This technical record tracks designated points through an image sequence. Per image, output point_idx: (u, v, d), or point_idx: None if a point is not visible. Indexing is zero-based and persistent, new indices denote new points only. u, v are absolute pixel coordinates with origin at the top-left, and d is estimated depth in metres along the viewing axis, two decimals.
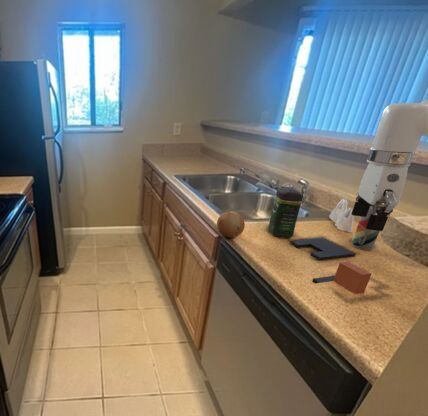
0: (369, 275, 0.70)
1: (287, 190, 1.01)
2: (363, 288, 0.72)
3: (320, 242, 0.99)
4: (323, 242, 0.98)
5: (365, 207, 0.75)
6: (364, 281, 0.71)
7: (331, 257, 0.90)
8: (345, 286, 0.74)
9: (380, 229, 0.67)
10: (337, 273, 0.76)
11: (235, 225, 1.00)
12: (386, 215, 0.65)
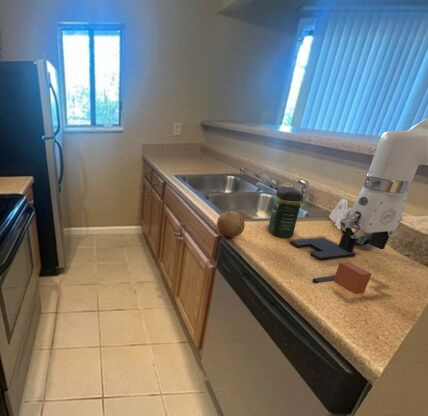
0: (369, 275, 0.70)
1: (287, 190, 1.01)
2: (363, 288, 0.72)
3: (320, 242, 0.99)
4: (323, 242, 0.98)
5: (381, 238, 0.70)
6: (364, 281, 0.71)
7: (331, 257, 0.90)
8: (345, 286, 0.74)
9: (348, 250, 0.69)
10: (337, 273, 0.76)
11: (235, 225, 1.00)
12: (349, 235, 0.68)
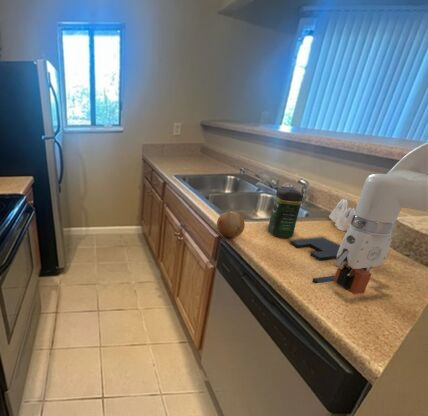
0: (369, 275, 0.70)
1: (287, 190, 1.01)
2: (363, 288, 0.72)
3: (320, 242, 0.99)
4: (323, 242, 0.98)
5: None
6: (364, 281, 0.71)
7: (331, 257, 0.90)
8: None
9: (346, 287, 0.73)
10: (337, 273, 0.76)
11: (235, 225, 1.00)
12: (346, 274, 0.72)
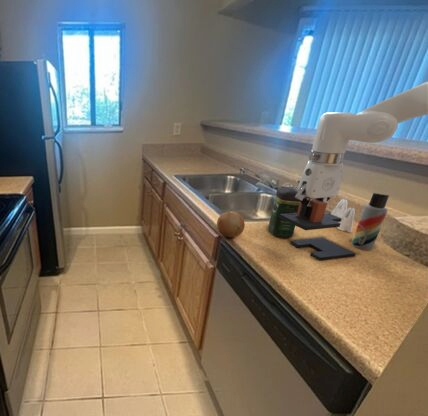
0: (325, 205, 0.80)
1: (287, 190, 1.01)
2: (320, 217, 0.82)
3: (320, 242, 0.99)
4: (323, 242, 0.98)
5: None
6: (321, 210, 0.81)
7: (331, 257, 0.90)
8: None
9: (306, 217, 0.83)
10: (299, 207, 0.86)
11: (235, 225, 1.00)
12: (305, 205, 0.82)
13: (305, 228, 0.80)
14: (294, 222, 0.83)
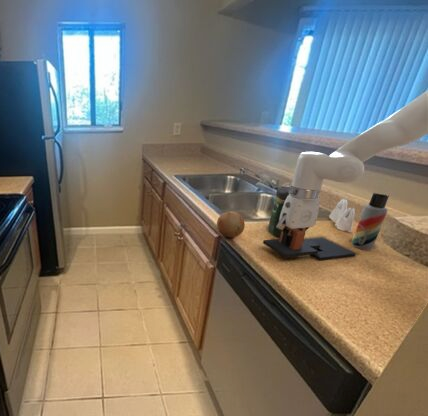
0: (303, 234, 0.88)
1: (287, 190, 1.01)
2: (300, 245, 0.89)
3: (320, 242, 0.99)
4: (323, 242, 0.98)
5: None
6: (300, 239, 0.89)
7: (331, 257, 0.90)
8: None
9: (287, 245, 0.91)
10: (281, 235, 0.94)
11: (235, 225, 1.00)
12: (286, 233, 0.90)
13: (285, 255, 0.88)
14: (276, 249, 0.91)
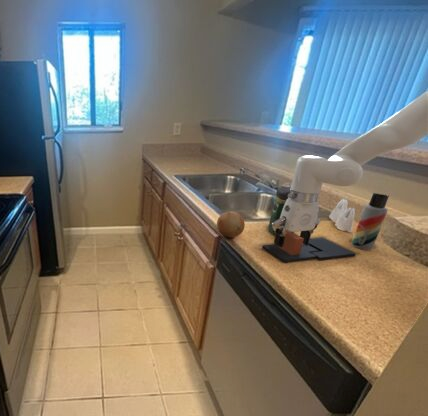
0: (302, 240, 0.89)
1: (287, 190, 1.01)
2: (298, 250, 0.90)
3: (320, 242, 0.99)
4: (323, 242, 0.98)
5: (305, 236, 0.92)
6: (298, 244, 0.89)
7: (331, 257, 0.90)
8: (285, 250, 0.93)
9: (280, 246, 0.90)
10: None
11: (235, 225, 1.00)
12: (278, 234, 0.89)
13: (283, 261, 0.88)
14: (274, 254, 0.92)
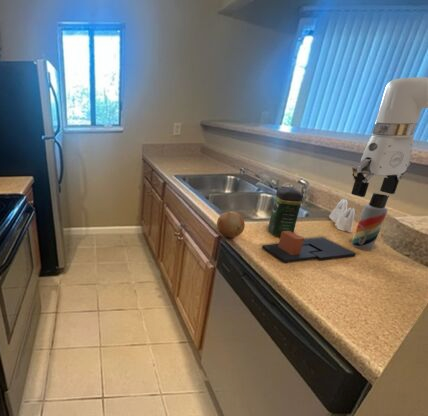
0: (302, 240, 0.89)
1: (287, 190, 1.01)
2: (298, 250, 0.90)
3: (320, 242, 0.99)
4: (323, 242, 0.98)
5: (391, 183, 0.75)
6: (298, 244, 0.89)
7: (331, 257, 0.90)
8: (285, 250, 0.93)
9: (361, 195, 0.74)
10: (280, 240, 0.95)
11: (235, 225, 1.00)
12: (361, 180, 0.73)
13: (283, 261, 0.88)
14: (274, 254, 0.92)
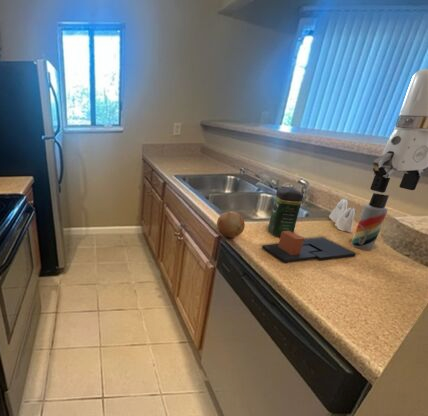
0: (302, 240, 0.89)
1: (287, 190, 1.01)
2: (298, 250, 0.90)
3: (320, 242, 0.99)
4: (323, 242, 0.98)
5: (412, 179, 0.73)
6: (298, 244, 0.89)
7: (331, 257, 0.90)
8: (285, 250, 0.93)
9: (381, 190, 0.72)
10: (280, 240, 0.95)
11: (235, 225, 1.00)
12: (381, 175, 0.70)
13: (283, 261, 0.88)
14: (274, 254, 0.92)
